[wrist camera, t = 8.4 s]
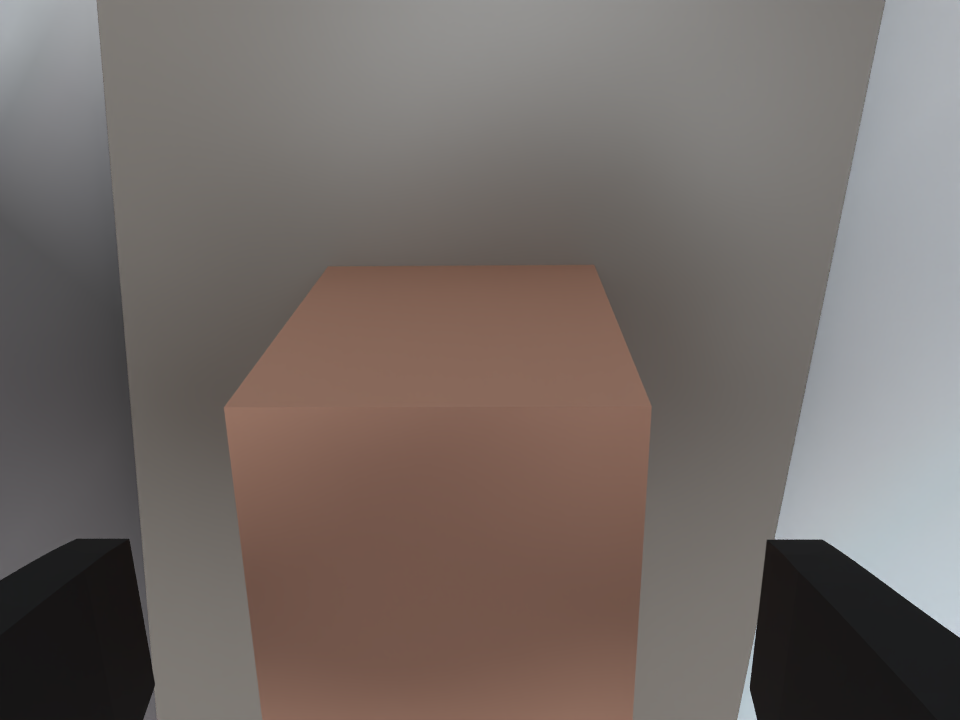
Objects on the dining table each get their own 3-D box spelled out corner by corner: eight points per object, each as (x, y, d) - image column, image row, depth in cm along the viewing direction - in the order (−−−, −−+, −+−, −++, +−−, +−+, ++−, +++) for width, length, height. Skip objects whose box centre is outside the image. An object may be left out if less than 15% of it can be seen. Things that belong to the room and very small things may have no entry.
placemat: (885, -64, 13) (899, -67, 13) (721, 753, 19) (726, 771, 19) (100, -116, 13) (87, -121, 13) (166, 717, 19) (158, 734, 19)
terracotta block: (594, 264, 15) (651, 405, 9) (585, 500, 16) (631, 744, 11) (327, 266, 15) (223, 407, 9) (344, 500, 16) (264, 742, 11)
